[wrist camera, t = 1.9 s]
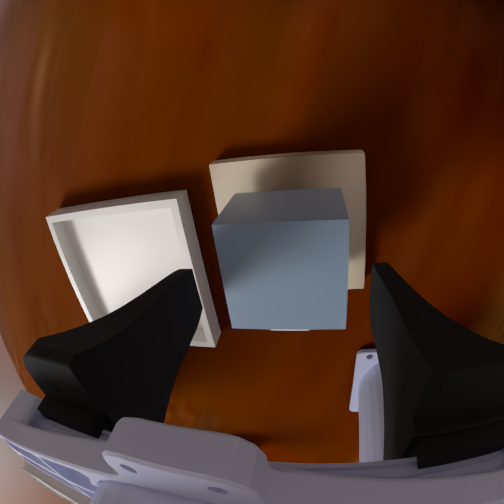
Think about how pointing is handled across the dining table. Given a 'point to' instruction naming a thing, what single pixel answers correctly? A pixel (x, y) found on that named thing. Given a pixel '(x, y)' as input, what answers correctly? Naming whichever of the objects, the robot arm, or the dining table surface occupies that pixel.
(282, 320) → the pale blue cube
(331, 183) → the post stand
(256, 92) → the dining table surface
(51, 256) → the dining table surface
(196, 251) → the tray
